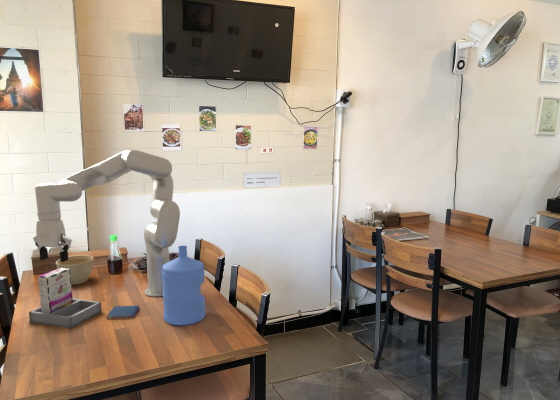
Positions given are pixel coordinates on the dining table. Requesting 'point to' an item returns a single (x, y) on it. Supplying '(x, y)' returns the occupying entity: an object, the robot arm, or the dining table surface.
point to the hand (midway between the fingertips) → (54, 260)
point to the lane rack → (67, 314)
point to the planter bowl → (77, 267)
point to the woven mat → (123, 312)
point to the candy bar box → (55, 290)
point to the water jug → (183, 290)
